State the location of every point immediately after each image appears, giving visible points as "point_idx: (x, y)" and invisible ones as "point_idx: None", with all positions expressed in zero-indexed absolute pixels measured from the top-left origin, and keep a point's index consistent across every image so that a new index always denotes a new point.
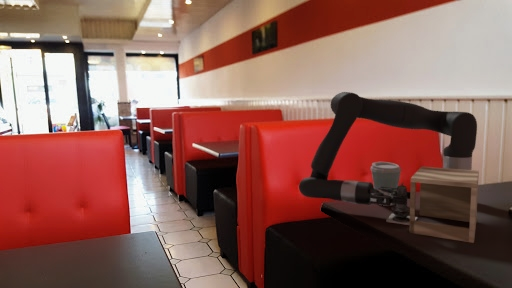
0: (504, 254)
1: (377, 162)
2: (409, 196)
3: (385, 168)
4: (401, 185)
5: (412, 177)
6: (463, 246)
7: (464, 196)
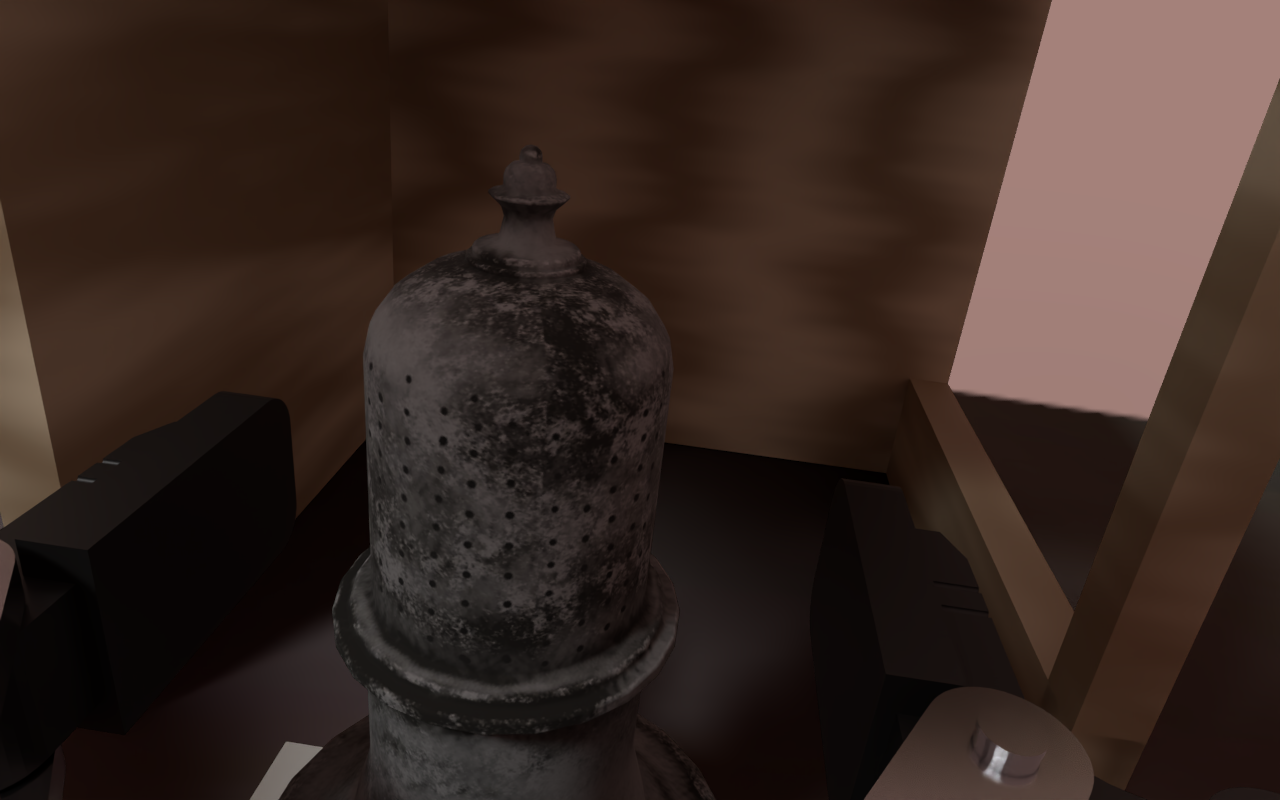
0: (998, 402)
1: None
2: (271, 504)
3: None
4: (576, 252)
5: None
6: (1046, 511)
7: (363, 187)
